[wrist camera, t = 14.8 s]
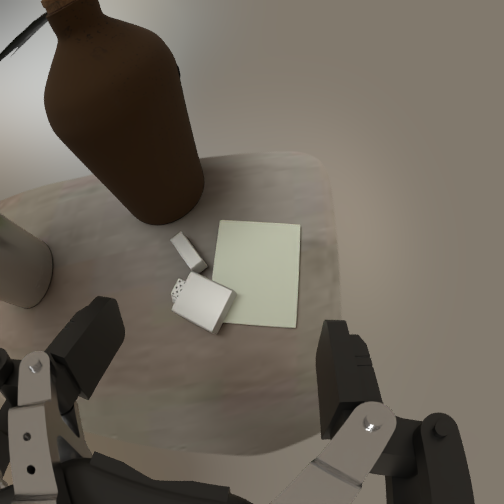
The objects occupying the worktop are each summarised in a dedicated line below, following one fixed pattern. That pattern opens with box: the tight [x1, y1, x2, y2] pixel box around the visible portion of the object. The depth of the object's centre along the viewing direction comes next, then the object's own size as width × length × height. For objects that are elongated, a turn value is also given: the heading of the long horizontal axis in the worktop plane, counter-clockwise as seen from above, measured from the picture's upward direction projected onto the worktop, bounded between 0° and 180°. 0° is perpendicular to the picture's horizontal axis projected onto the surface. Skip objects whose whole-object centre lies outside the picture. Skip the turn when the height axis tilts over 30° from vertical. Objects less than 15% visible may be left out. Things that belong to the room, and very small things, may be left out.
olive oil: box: [41, 0, 204, 225], centre depth 19 cm, size 11×11×25 cm
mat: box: [212, 220, 300, 328], centre depth 27 cm, size 8×10×1 cm
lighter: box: [170, 231, 237, 334], centre depth 26 cm, size 7×2×8 cm
